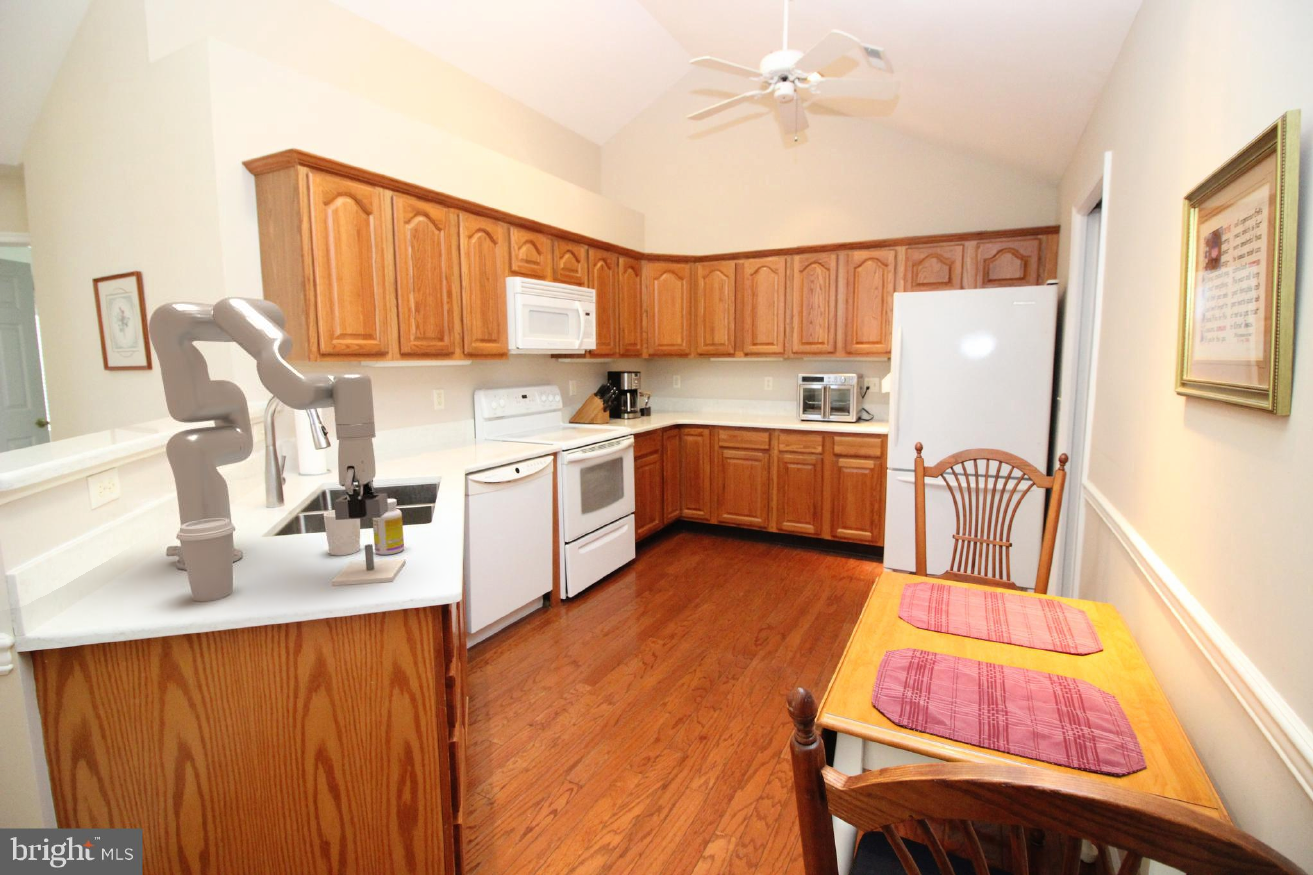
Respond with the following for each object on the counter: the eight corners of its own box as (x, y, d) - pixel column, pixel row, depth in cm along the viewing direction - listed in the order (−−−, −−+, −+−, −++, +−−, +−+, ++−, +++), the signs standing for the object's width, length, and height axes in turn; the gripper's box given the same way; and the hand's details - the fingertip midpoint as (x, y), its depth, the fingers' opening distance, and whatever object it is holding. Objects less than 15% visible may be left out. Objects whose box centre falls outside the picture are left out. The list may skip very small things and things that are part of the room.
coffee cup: (242, 583, 129) (235, 514, 127) (241, 597, 121) (233, 524, 119) (186, 592, 123) (178, 521, 121) (180, 608, 115) (171, 532, 113)
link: (335, 519, 128) (334, 501, 127) (345, 512, 134) (343, 495, 133) (380, 517, 129) (379, 499, 129) (388, 510, 135) (386, 493, 135)
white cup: (369, 548, 152) (366, 509, 150) (344, 558, 144) (341, 517, 143) (345, 545, 154) (342, 507, 153) (319, 554, 147) (315, 514, 146)
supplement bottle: (409, 547, 152) (406, 497, 150) (395, 556, 146) (392, 504, 144) (384, 546, 153) (380, 497, 151) (369, 555, 146) (365, 503, 144)
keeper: (331, 585, 127) (329, 555, 126) (350, 566, 138) (348, 538, 137) (392, 581, 129) (390, 552, 128) (405, 563, 140) (403, 536, 139)
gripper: (350, 427, 137) (357, 505, 139) (321, 437, 120) (329, 525, 122) (385, 426, 138) (391, 503, 140) (361, 435, 121) (368, 522, 124)
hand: (362, 512), depth 131 cm, fingers closed on link, 6 cm apart
